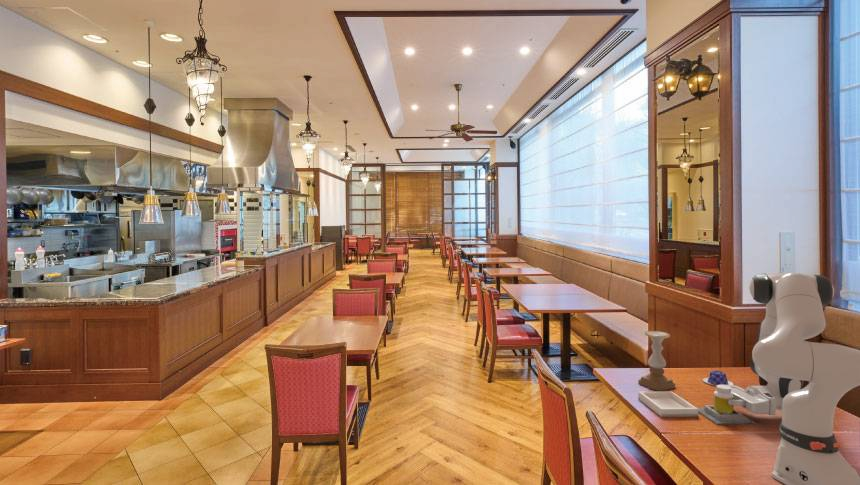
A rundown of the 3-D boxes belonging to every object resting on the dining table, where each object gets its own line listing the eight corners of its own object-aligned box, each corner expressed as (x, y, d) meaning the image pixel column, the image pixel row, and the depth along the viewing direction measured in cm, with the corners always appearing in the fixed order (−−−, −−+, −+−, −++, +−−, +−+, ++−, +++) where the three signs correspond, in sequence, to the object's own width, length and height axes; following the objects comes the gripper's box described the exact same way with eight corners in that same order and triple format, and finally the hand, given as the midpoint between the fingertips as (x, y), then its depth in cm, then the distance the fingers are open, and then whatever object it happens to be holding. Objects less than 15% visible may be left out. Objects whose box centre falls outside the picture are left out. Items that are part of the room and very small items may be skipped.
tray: (698, 416, 168) (698, 408, 168) (661, 417, 168) (661, 409, 167) (671, 398, 186) (671, 391, 186) (638, 398, 186) (638, 391, 185)
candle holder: (637, 383, 203) (638, 332, 203) (654, 380, 208) (654, 329, 207) (659, 391, 193) (659, 337, 193) (675, 387, 198) (676, 334, 197)
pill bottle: (736, 419, 164) (736, 390, 164) (717, 418, 165) (718, 389, 165) (728, 412, 170) (729, 384, 170) (710, 411, 171) (711, 383, 171)
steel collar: (755, 424, 161) (755, 417, 161) (716, 424, 161) (717, 418, 161) (728, 408, 175) (728, 402, 175) (693, 409, 175) (693, 402, 175)
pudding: (696, 381, 207) (696, 370, 207) (714, 377, 212) (714, 366, 212) (721, 389, 196) (721, 378, 196) (739, 386, 201) (740, 374, 201)
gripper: (738, 380, 178) (704, 380, 178) (778, 399, 157) (740, 400, 157) (738, 395, 178) (703, 396, 178) (778, 417, 158) (740, 417, 157)
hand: (721, 398), depth 167 cm, fingers closed on pill bottle, 6 cm apart
